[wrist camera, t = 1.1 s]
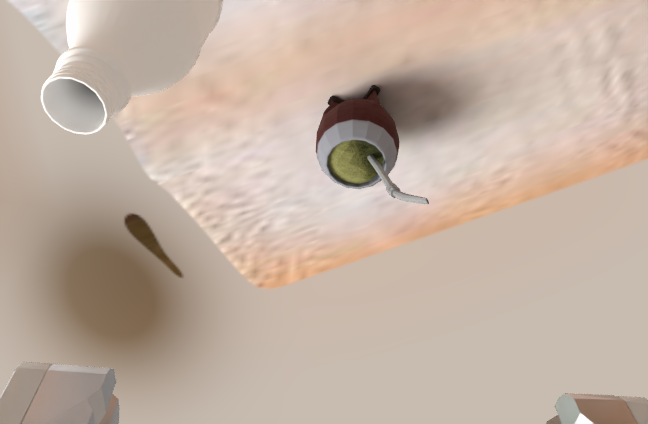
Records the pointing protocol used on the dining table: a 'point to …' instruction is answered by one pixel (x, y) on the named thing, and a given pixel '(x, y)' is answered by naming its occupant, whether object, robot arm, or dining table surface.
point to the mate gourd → (360, 144)
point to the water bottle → (123, 55)
